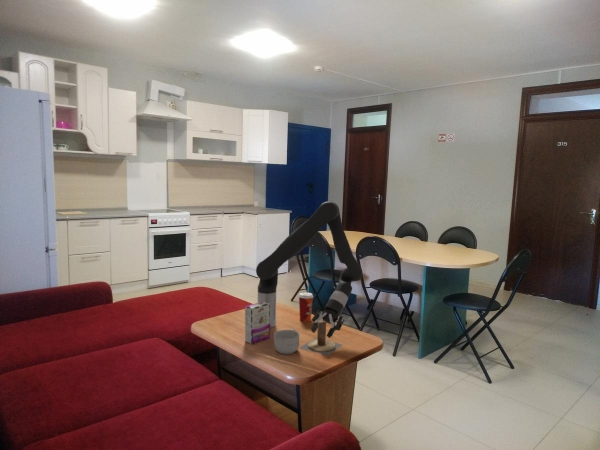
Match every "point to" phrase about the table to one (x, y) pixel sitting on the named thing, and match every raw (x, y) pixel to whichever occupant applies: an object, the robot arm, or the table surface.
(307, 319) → the paper cup
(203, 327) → the table surface
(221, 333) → the table surface
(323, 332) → the oak lid
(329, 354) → the rubber mat
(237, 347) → the table surface
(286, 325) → the table surface
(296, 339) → the teacup
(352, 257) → the robot arm
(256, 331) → the candy bar box
